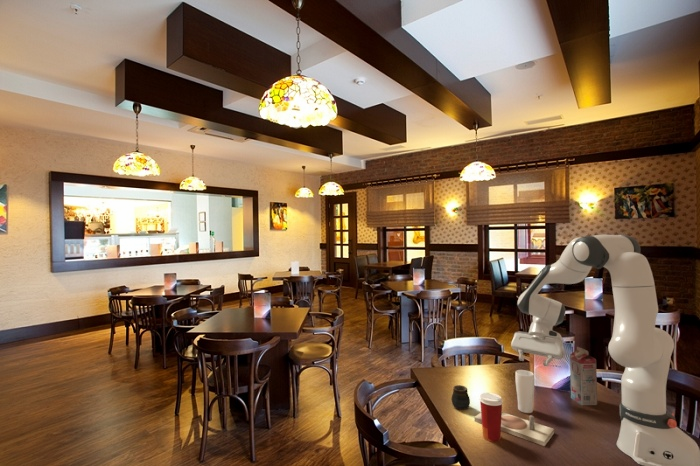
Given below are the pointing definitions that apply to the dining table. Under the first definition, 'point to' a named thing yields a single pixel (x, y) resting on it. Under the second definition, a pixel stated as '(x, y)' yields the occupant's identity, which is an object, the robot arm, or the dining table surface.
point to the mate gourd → (460, 397)
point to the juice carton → (583, 377)
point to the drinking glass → (525, 390)
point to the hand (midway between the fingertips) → (532, 362)
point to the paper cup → (491, 416)
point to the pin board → (523, 428)
